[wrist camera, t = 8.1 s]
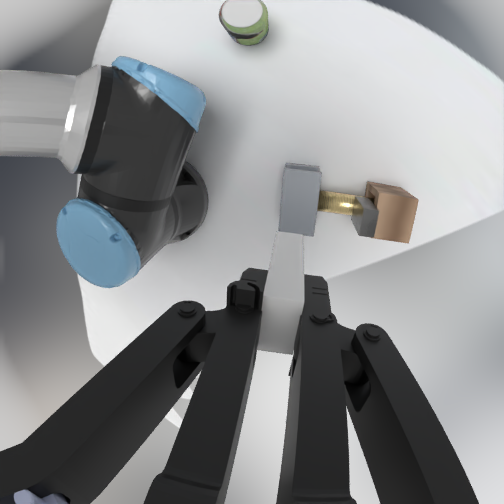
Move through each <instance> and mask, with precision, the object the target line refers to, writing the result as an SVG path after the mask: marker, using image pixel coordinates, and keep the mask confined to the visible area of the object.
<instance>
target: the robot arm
mask: <svg viewBox="0 0 504 504" xmlns="http://www.w3.org/2000/svg"><path fill="white" fill-rule="evenodd" d="M205 106H206V98H205V95H204V93H203V92H202V91H201V90H200V89H199V88H198V87H196V86H195V85H193V84H191V83H189V82H188V81H186V80H184V79H182V78H180V77H178V76H176V75H174V74H171V73H169V72H167V71H165V70H162V69H160V68H157V67H155V66H152V65H148V64H146V63H143V62H140V61H138V60H136V59H133V58H129V57H125V56H119V57H117V58H116V60H115V61H113V62H112V67H107V66H101V65H95V66H93V67H91V68H90V69H88V70H87V71H85V72H83V73H82V74H80V75H77V76H73V75H65V74H56V73H46V72H34V71H18V70H17V71H16V70H0V156H32V157H54V158H58V159H59V160H60V161H61V162H62V163H63V165H64V166H65V167H66V169H67V170H68V171H69V172H70V173H76V174H82V176H81V182H80V187H79V193H78V197H77V198H76V199H73V200H70V201H69V202H68V203H67V204H66V206H65V207H63V208H62V209H61V211H60V213H59V215H58V219H57V226H56V229H57V237H58V241H59V245H60V247H61V250H62V252H63V254H64V256H65V257H66V259H67V260H68V262H69V264H70V265H71V266H72V268H73V269H74V270H75V271H76V272H77V273H78V274H79V275H80V276H81V277H83V278H84V279H85V280H87V281H88V282H90V283H92V284H94V285H96V286H99V287H103V288H112V287H118V286H120V285H122V284H124V283H125V282H127V281H128V280H129V279H131V278H133V277H134V276H135V275H137V273H138V272H139V270H140V269H141V268H142V267H143V266H144V265H145V264H146V263H147V262H148V261H149V260H150V259H151V258H152V257H153V256H154V255H155V254H156V253H157V252H158V251H159V250H160V249H162V248H163V247H164V246H165V245H166V244H170V243H175V242H179V241H182V240H184V239H186V238H188V237H189V236H190V235H192V234H193V233H194V232H195V231H196V230H197V229H198V228H199V227H200V225H201V224H202V222H203V220H204V218H205V216H206V213H207V209H208V194H207V189H206V186H205V184H204V181H203V179H202V178H201V176H200V174H199V173H198V172H197V171H196V170H195V169H194V168H193V167H192V166H191V165H190V164H189V163H187V162H185V159H186V156H187V154H188V151H189V148H190V146H191V143H192V141H193V138H194V136H195V133H198V130H199V127H198V125H199V122H200V120H201V117H202V114H203V111H204V109H205ZM257 350H261V351H268V352H276V353H283V354H291V355H292V354H293V351H294V355H293V359H292V364H291V367H290V372H289V376H290V388H289V399H288V410H287V420H286V430H285V439H284V448H283V457H282V465H281V473H280V480H279V488H278V495H277V502H276V504H357V503H356V501H355V500H354V499H353V498H352V497H351V495H350V489H349V448H348V428H347V412H346V406H347V409H348V412H349V414H350V417H351V420H352V423H353V425H354V428H355V431H356V433H357V436H358V439H359V442H360V445H361V448H362V450H363V453H364V456H365V459H366V462H367V464H368V468H369V471H370V474H371V476H372V479H373V482H374V485H375V488H376V491H377V494H378V497H379V501H380V504H479V502H478V500H477V498H476V495H475V493H474V491H473V488H472V486H471V484H470V482H469V480H468V478H467V476H466V473H465V471H464V469H463V467H462V465H461V463H460V460H459V458H458V457H457V454H456V452H455V450H454V448H453V446H452V444H451V443H450V441H449V439H448V437H447V435H446V433H445V431H444V429H443V427H442V425H441V424H440V422H439V420H438V418H437V416H436V414H435V412H434V411H433V409H432V407H431V405H430V404H429V402H428V400H427V398H426V397H425V395H424V393H423V391H422V390H421V388H420V386H419V384H418V383H417V381H416V379H415V378H414V376H413V374H412V373H411V371H410V369H409V368H408V366H407V364H406V363H405V361H404V359H403V358H402V356H401V355H400V353H399V351H398V350H397V348H396V347H395V345H394V344H393V342H392V340H391V339H390V337H389V336H388V334H387V333H386V332H385V331H384V330H383V329H382V328H381V327H379V326H377V325H374V324H361V325H359V326H358V327H357V328H356V331H355V330H352V329H349V328H346V327H344V326H341V325H340V324H338V323H337V319H336V317H335V315H334V314H333V313H331V306H330V299H329V292H328V285H327V282H326V281H325V280H324V278H323V277H320V276H312V275H305V274H304V246H303V234H295V233H288V232H280V231H277V232H276V236H275V241H274V246H273V251H272V256H271V261H270V265H269V270H261V269H254V268H248V269H247V270H245V271H244V272H243V273H242V276H241V279H240V281H235V282H233V283H230V284H229V286H228V287H227V306H226V308H224V309H221V310H217V311H205V308H204V307H203V305H202V304H200V303H198V302H195V301H181V302H178V303H176V304H174V305H173V306H172V307H171V308H169V309H168V310H167V311H166V312H165V313H164V314H163V315H162V316H160V317H159V318H158V319H157V320H156V321H155V322H154V323H153V324H151V325H150V326H149V327H148V328H147V329H146V330H145V331H144V332H143V333H141V334H140V335H139V336H138V337H137V338H136V339H135V340H134V341H132V342H131V343H130V344H129V345H128V346H127V347H126V348H125V349H124V350H122V351H121V352H120V353H119V354H118V355H117V356H116V357H115V358H114V359H113V360H111V361H110V362H109V363H108V364H107V365H106V366H105V367H104V368H103V369H102V370H100V371H99V372H98V373H97V374H96V375H95V376H94V377H93V378H92V379H91V380H89V381H88V382H87V383H86V384H85V385H84V386H83V387H82V388H81V389H80V390H79V391H77V392H76V393H75V394H74V395H73V396H72V397H71V398H70V399H69V400H68V401H67V402H66V403H65V404H63V405H62V406H61V407H60V408H59V409H58V410H57V411H56V412H55V413H54V414H53V415H51V416H50V417H49V418H48V419H47V420H46V421H45V422H44V423H43V424H42V425H41V426H40V427H39V428H38V429H37V430H35V432H33V433H32V434H31V435H30V436H29V437H28V438H27V439H26V440H25V441H24V442H23V443H21V444H18V445H16V446H13V447H11V448H8V449H6V450H3V451H0V504H90V503H91V502H92V501H93V500H94V499H96V497H98V496H99V495H100V494H101V492H102V491H103V490H104V489H105V488H106V487H107V486H108V484H109V483H110V482H111V481H112V480H113V478H114V477H115V476H116V475H117V474H118V473H119V471H120V470H121V469H122V468H123V467H124V465H125V464H126V463H127V462H128V461H129V460H130V458H131V457H132V456H133V455H134V454H135V452H136V451H137V450H138V449H139V448H140V446H141V445H142V444H143V443H144V442H145V440H146V439H147V438H148V437H149V435H150V434H151V433H152V432H153V431H154V429H155V428H156V427H157V426H158V424H159V423H160V422H161V421H162V419H163V418H164V417H165V416H166V414H167V413H168V412H169V411H170V409H171V408H172V407H173V406H174V404H175V403H176V402H177V401H178V399H179V398H180V397H181V396H182V394H183V393H184V392H185V390H186V389H187V388H188V387H189V385H190V384H191V383H192V381H193V380H194V379H195V378H196V376H197V375H198V374H199V373H200V371H201V370H202V371H201V374H200V376H199V379H198V382H197V385H196V387H195V390H194V392H193V395H192V398H191V400H190V403H189V406H188V408H187V411H186V414H185V416H184V419H183V421H182V424H181V427H180V429H179V432H178V435H177V437H176V440H175V443H174V445H173V448H172V451H171V453H170V456H169V459H168V461H167V464H166V466H165V469H164V470H163V472H162V473H160V474H158V475H157V476H156V477H155V479H154V480H153V482H152V484H151V486H150V489H149V491H148V494H147V496H146V499H145V501H144V504H224V502H225V498H226V494H227V489H228V485H229V480H230V476H231V472H232V468H233V464H234V459H235V454H236V450H237V446H238V441H239V436H240V432H241V427H242V423H243V418H244V413H245V409H246V404H247V399H248V394H249V390H250V384H251V380H252V375H253V370H254V365H255V360H256V352H257Z"/></svg>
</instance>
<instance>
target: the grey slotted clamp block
mask: <svg viewBox="0 0 504 504" xmlns="http://www.w3.org/2000/svg"><path fill="white" fill-rule="evenodd" d="M321 174H322V173H321V172H319V166H311V165H302V164H293V163H286V168H284V174H283V186H282V197H281V209H280V220H279V230H278V231H280V232H288V233H295V234H303V235H306V236H314V230H315V223H316V215H317V207H318V199H319V191H320V183H321Z"/></svg>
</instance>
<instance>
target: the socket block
mask: <svg viewBox="0 0 504 504" xmlns="http://www.w3.org/2000/svg"><path fill="white" fill-rule="evenodd" d="M365 197H369V198H375V201H374V205H375V206H376V207H377V209H378V210H379V215H378V221H377V226H376V230H375V235H374V238H375V239H382V240H389V241H396V242H403V243H409V240H410V236H411V232H412V228H413V223H414V219H415V215H416V210H417V205H418V199H417V198H415V197H414V196H413V195H411V194H410V193H408V192H407V191H405V190H404V189H402V188H401V187H395V186H390V185H385V184H379V183H373V182H367V185H366V192H365ZM371 238H372V237H371Z"/></svg>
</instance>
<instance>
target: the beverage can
mask: <svg viewBox="0 0 504 504" xmlns="http://www.w3.org/2000/svg"><path fill="white" fill-rule="evenodd" d="M219 20H220V22H221V24H222V25H223V27H224V28H225V29H226V31H227V32H228V33H229V35H230V36H231V37H232V39H233V40H234V41H236V42H237V43H239V44H242V45H254V44H257V43H259V42H261V41H262V40H263V39H264V38H265V37H266V35H267V33H268V12H267V8H266V6H265V4H264V3H263V2H262V1H261V0H226V1H225V2H224V3H223V5H222V6H221V8H220V11H219Z"/></svg>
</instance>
